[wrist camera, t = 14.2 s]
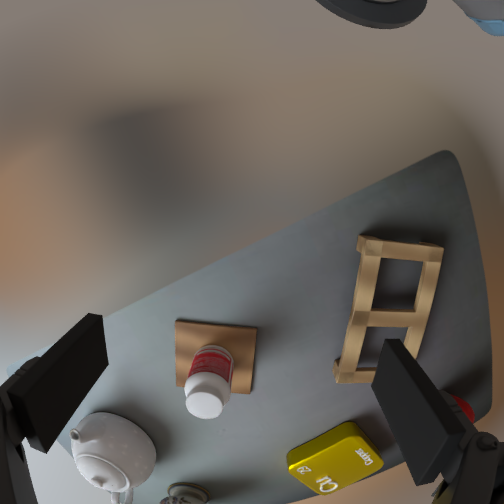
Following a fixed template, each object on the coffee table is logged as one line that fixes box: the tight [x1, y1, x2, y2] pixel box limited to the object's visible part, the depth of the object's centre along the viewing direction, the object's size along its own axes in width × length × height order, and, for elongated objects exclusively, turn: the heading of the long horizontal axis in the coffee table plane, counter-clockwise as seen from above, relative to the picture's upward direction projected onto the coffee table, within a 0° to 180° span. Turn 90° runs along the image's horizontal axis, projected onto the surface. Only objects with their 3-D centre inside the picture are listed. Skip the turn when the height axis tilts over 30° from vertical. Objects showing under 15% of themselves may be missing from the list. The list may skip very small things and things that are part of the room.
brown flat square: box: [175, 320, 257, 394], centre depth 47 cm, size 12×12×1 cm
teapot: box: [70, 412, 156, 504], centre depth 46 cm, size 19×18×14 cm
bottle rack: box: [332, 235, 444, 383], centre depth 44 cm, size 22×13×4 cm, turn 175°
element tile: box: [287, 422, 384, 495], centre depth 50 cm, size 15×15×5 cm
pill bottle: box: [185, 345, 234, 419], centre depth 42 cm, size 6×6×11 cm
